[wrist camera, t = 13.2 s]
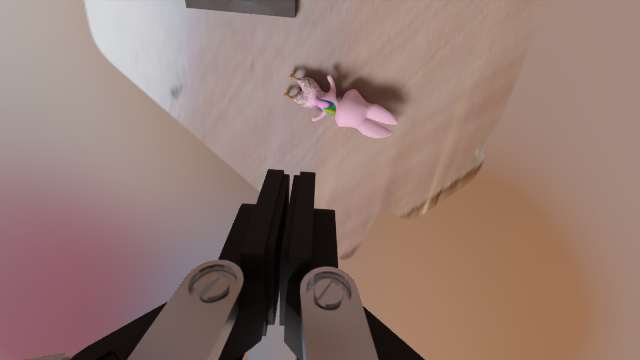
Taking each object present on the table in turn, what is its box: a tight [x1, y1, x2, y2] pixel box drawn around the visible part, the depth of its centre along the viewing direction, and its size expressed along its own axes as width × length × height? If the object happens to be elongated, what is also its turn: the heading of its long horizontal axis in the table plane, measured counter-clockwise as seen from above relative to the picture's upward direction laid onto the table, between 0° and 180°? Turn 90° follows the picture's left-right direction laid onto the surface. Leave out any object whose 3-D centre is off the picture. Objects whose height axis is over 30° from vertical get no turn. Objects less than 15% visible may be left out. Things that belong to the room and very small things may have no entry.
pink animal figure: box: [283, 71, 398, 138], centre depth 35 cm, size 6×6×15 cm
